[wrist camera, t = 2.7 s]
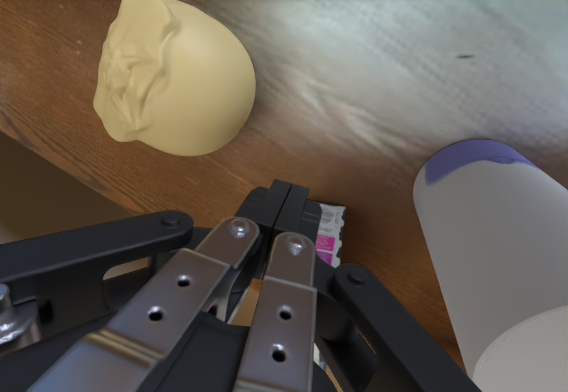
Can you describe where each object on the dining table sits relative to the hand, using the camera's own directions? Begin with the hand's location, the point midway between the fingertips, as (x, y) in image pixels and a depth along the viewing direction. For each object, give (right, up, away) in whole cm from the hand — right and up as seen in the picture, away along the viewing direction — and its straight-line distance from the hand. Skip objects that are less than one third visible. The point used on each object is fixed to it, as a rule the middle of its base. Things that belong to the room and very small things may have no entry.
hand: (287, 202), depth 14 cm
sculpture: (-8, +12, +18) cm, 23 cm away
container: (+17, +1, +17) cm, 25 cm away
